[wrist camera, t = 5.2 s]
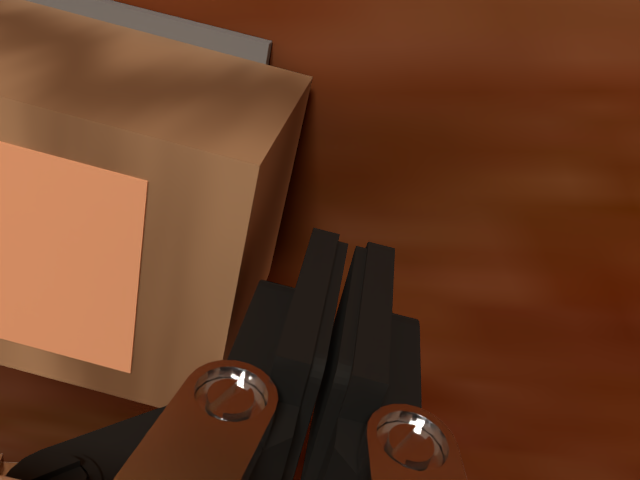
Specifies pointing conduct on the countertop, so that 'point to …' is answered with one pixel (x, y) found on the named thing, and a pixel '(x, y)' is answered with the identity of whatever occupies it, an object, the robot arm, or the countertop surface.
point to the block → (133, 198)
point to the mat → (168, 27)
